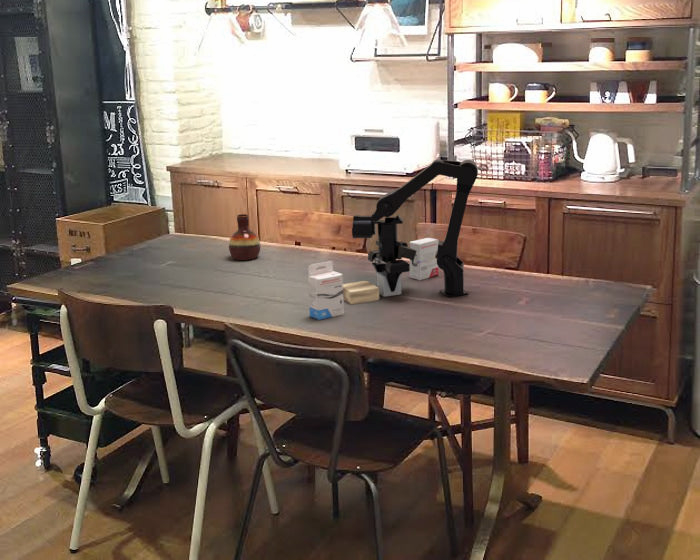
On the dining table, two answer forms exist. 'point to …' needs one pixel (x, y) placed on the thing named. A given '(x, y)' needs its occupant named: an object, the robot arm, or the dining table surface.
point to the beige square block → (360, 292)
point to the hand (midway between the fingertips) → (389, 289)
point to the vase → (244, 241)
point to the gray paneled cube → (384, 286)
